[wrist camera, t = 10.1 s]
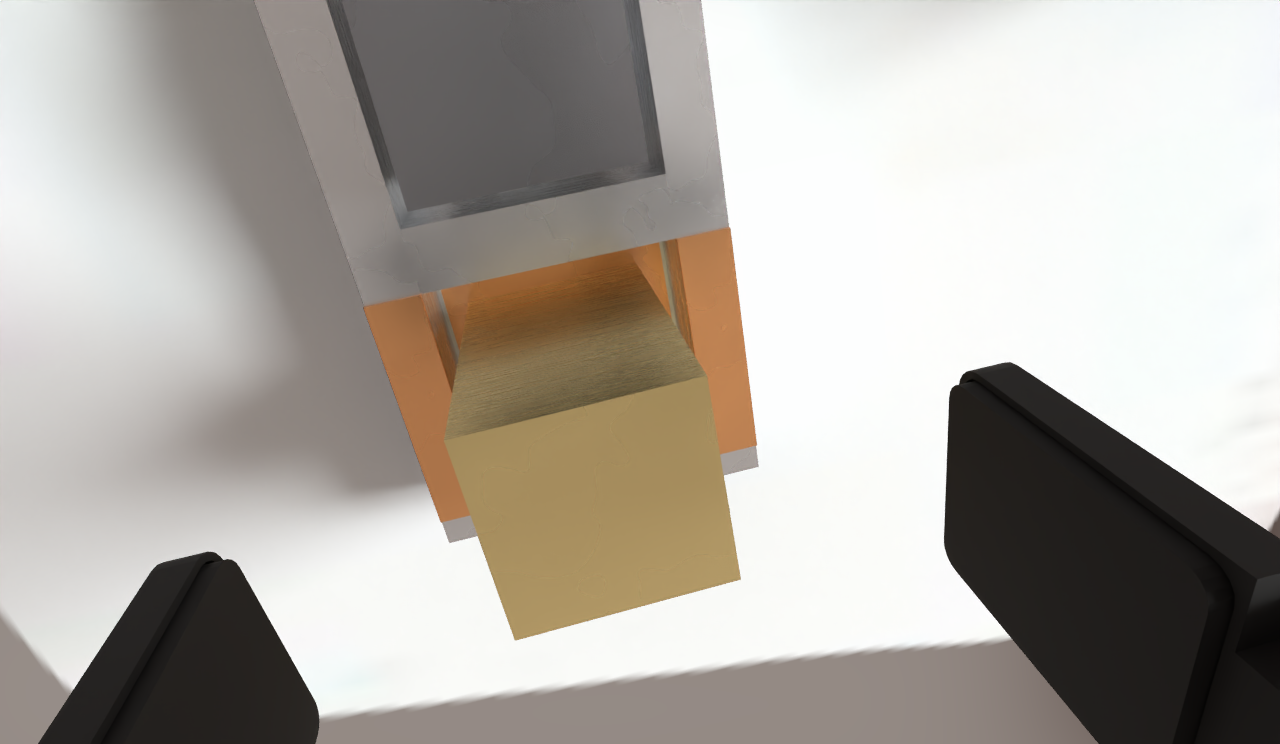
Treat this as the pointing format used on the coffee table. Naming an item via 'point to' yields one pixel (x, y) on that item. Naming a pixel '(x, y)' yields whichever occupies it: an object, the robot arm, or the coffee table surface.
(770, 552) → the coffee table surface
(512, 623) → the gold brushed block
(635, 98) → the grey brushed cube
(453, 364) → the rail
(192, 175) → the coffee table surface
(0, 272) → the coffee table surface
